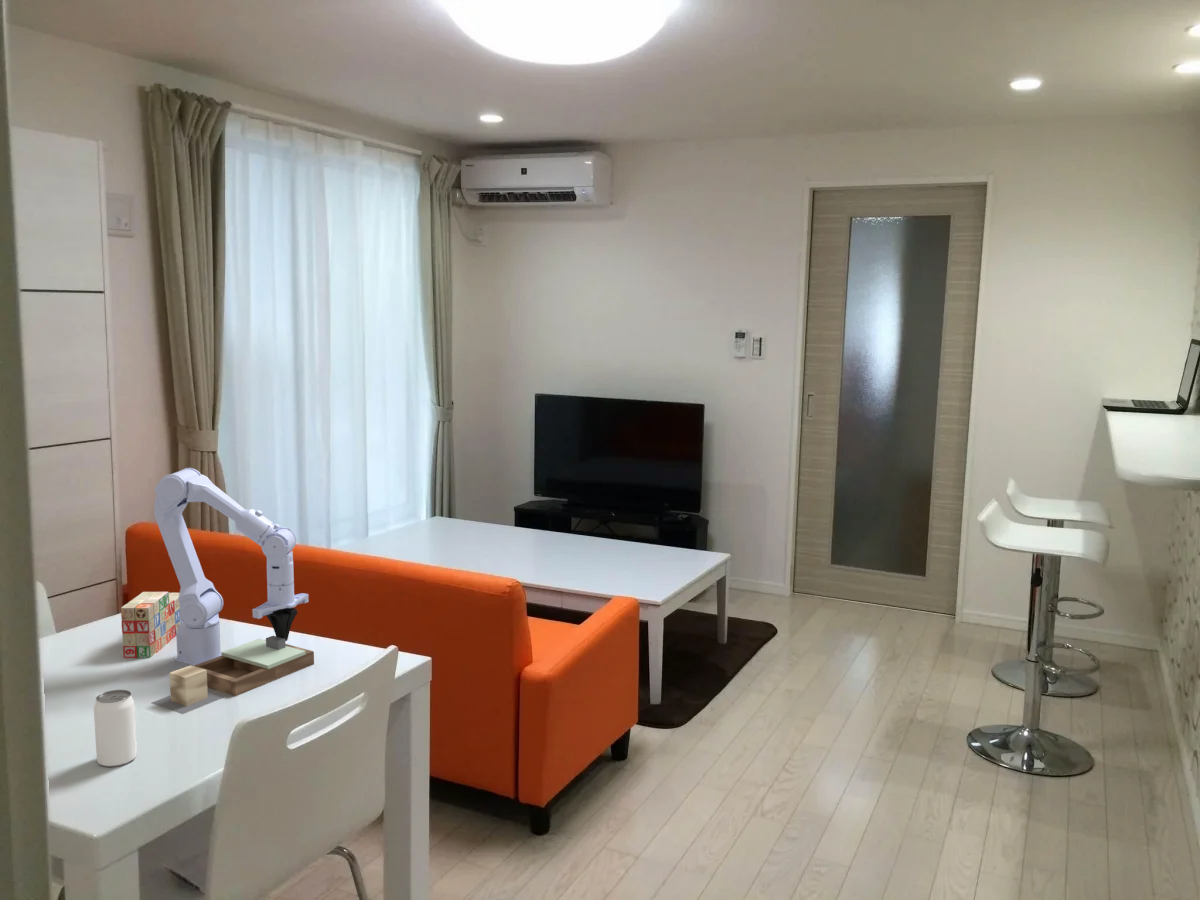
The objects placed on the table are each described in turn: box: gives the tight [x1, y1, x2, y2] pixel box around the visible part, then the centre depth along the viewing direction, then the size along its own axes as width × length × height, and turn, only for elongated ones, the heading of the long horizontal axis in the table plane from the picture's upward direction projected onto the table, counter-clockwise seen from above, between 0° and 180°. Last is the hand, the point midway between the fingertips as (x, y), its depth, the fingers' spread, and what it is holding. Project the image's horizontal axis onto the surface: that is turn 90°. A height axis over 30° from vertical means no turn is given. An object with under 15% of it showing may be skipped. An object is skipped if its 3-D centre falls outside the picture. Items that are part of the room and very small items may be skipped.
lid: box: [221, 635, 306, 669], centre depth 216 cm, size 15×10×3 cm
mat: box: [151, 691, 225, 715], centre depth 199 cm, size 10×10×1 cm
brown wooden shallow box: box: [193, 643, 315, 697], centre depth 214 cm, size 15×22×4 cm
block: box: [169, 664, 209, 706], centre depth 198 cm, size 5×5×6 cm
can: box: [93, 689, 138, 768], centre depth 173 cm, size 6×6×12 cm
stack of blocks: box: [120, 591, 183, 659], centre depth 232 cm, size 21×6×12 cm, turn 3°
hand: (282, 640), depth 221 cm, fingers closed
